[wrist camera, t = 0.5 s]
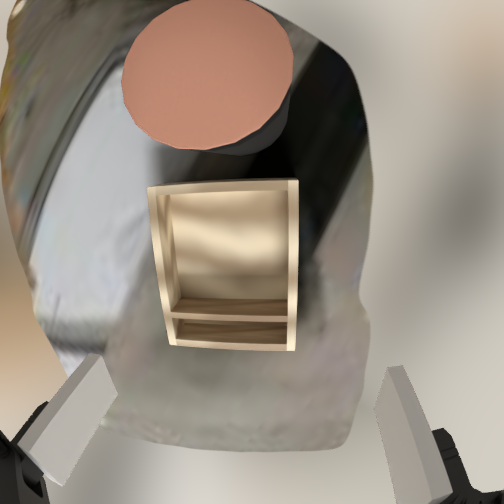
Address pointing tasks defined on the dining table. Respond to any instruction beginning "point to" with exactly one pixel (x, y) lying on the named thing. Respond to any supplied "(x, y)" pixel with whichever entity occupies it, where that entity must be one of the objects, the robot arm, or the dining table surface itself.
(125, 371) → the dining table surface
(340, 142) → the dining table surface
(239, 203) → the walled box
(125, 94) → the coffee jar
